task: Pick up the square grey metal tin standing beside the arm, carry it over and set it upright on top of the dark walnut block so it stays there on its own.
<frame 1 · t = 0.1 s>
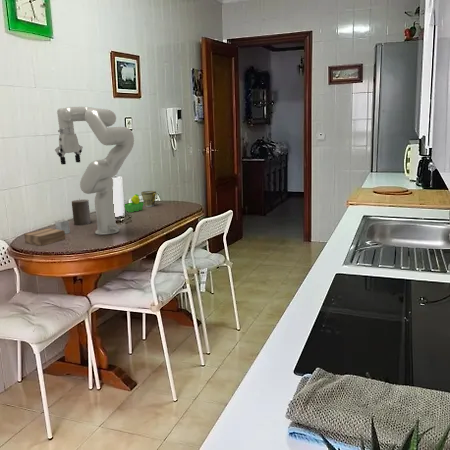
hand: (70, 163, 271), 37 cm above the table, tool pointing down, fingers open, 9 cm apart
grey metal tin: (63, 233, 268), on the table
pillar candle: (82, 223, 292), on the table
walnut block: (45, 241, 253), on the table
fruit basket: (135, 211, 322), on the table
ceramic cup: (151, 206, 337), on the table
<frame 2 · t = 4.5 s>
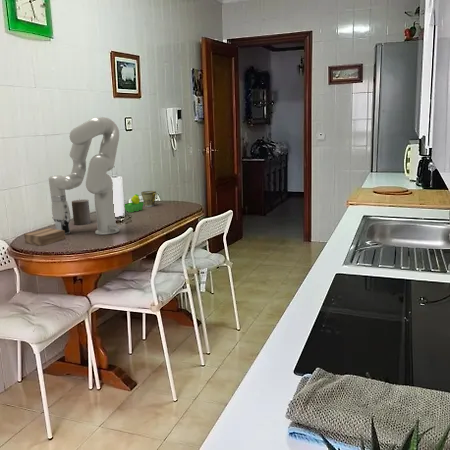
hand: (63, 231, 268), 1 cm above the table, tool pointing down, fingers closed on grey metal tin, 5 cm apart
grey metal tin: (63, 233, 268), on the table, touching gripper
everything else where it was.
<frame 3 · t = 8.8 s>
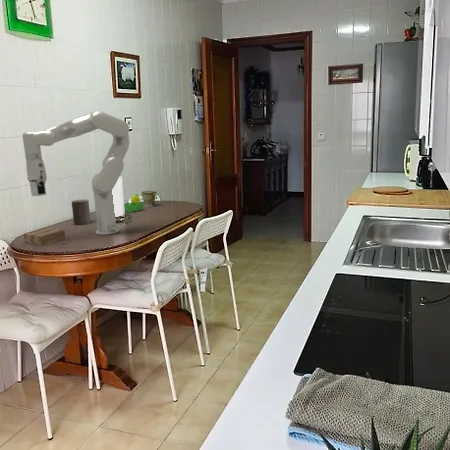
hand: (38, 193, 248), 25 cm above the table, tool pointing down, fingers closed on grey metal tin, 5 cm apart
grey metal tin: (39, 195, 248), point 24 cm above the table, touching gripper
everything else where it was.
when the fingers open (7 cm above the table, at t = 13.1 s): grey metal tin drops 1 cm, resting on walnut block.
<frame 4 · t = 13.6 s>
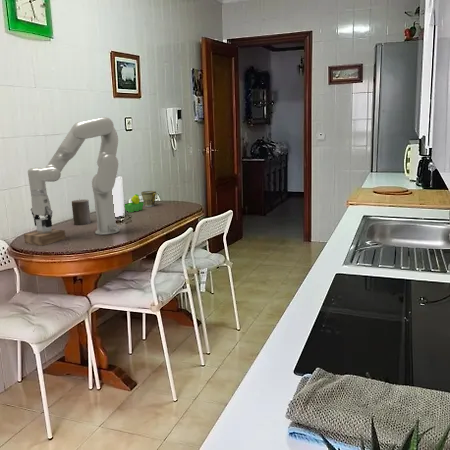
hand: (43, 226, 251), 8 cm above the table, tool pointing down, fingers open, 9 cm apart
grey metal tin: (44, 232, 252), point 5 cm above the table, touching walnut block
walnut block: (45, 241, 253), on the table, touching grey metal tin
everything else where it was.
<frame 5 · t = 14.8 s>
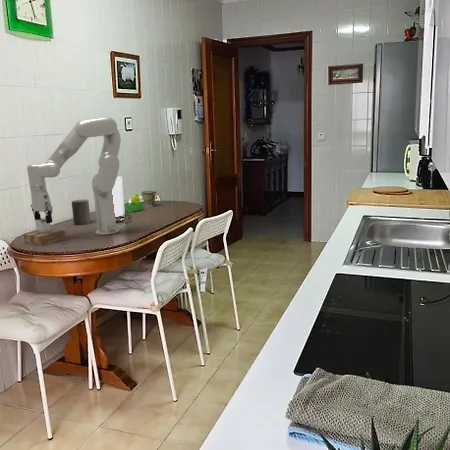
hand: (43, 222, 251), 10 cm above the table, tool pointing down, fingers open, 9 cm apart
nothing on the table moved.
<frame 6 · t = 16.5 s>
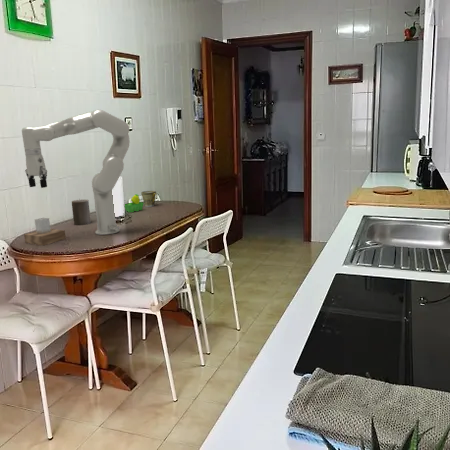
hand: (38, 187, 247), 28 cm above the table, tool pointing down, fingers open, 9 cm apart
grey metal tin: (43, 232, 252), point 4 cm above the table
walnut block: (45, 241, 253), on the table
everything else where it was.
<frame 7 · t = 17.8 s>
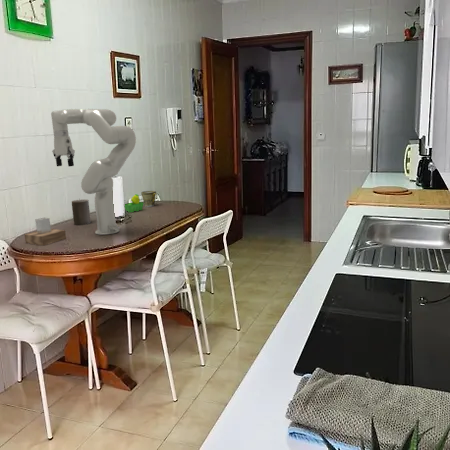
hand: (65, 166, 269), 35 cm above the table, tool pointing down, fingers open, 9 cm apart
nothing on the table moved.
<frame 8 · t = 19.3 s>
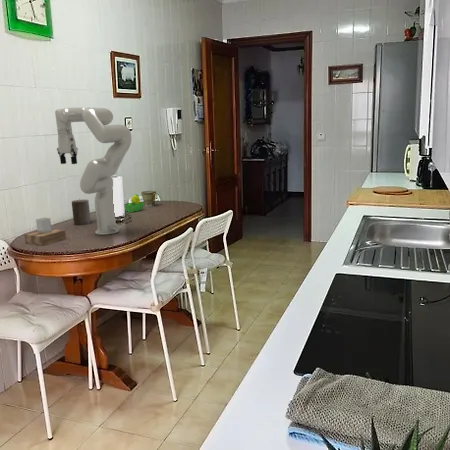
hand: (68, 163, 272), 36 cm above the table, tool pointing down, fingers open, 9 cm apart
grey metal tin: (44, 232, 252), point 5 cm above the table, touching walnut block
walnut block: (46, 241, 253), on the table, touching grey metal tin
everything else where it was.
at the end: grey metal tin inside the target area on the walnut block (0.2 cm from its centre), point 5.0 cm above the walnut block's base; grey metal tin tilted 1°; the gripper is holding nothing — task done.
